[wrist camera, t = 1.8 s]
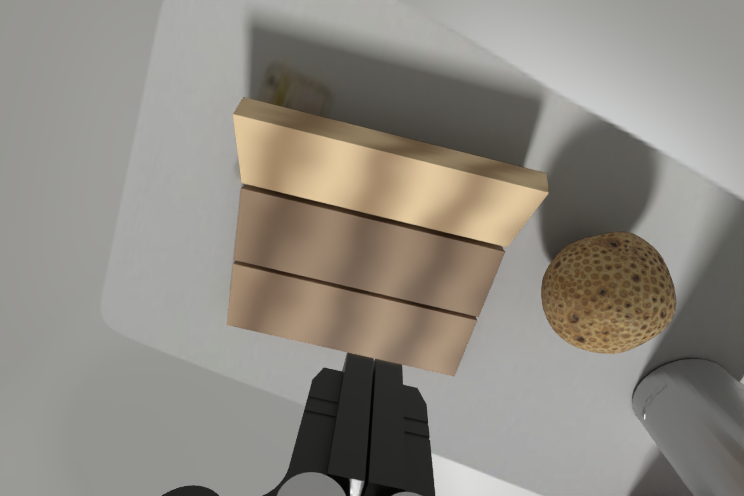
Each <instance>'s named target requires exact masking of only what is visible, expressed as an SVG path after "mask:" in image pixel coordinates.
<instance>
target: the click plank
mask: <svg viewBox="0 0 744 496" xmlns="http://www.w3.org/2000/svg"><path fill="white" fill-rule="evenodd" d="M233 118H234V126H235V134H236V142H237V150H238V158H239V165H240V173H241V181H242V183H244V184H248V185H252V186H256V187H260V188H265V189H269V190H273V191H277V192H281V193H285V194H289V195H294V196H298V197H302V198H306V199H310V200H314V201H318V202H322V203H327V204H331V205H335V206H339V207H343V208H347V209H351V210H355V211H360V212H364V213H368V214H372V215H376V216H380V217H384V218H389V219H393V220H397V221H401V222H405V223H409V224H413V225H417V226H422V227H426V228H430V229H434V230H438V231H442V232H446V233H451V234H455V235H459V236H463V237H467V238H471V239H475V240H479V241H484V242H488V243H492V244H496V245H500V246H504V247H508V245H509V244H510V243H511V241H512V240H513V239H514V237H515V236H516V235H517V234H518V232H519V231H520V230H521V228H522V227H523V226H524V225H525V223H526V222H527V221H528V219H529V218H530V217H531V215H532V214H533V213H534V212H535V210H536V209H537V208H538V206H539V205H540V204H541V202H542V201H543V200H544V199H545V197H546V196H547V195H548V193H549V190H548V183H547V176H546V173H544V172H540V171H536V170H532V169H528V168H524V167H520V166H516V165H512V164H508V163H504V162H500V161H496V160H492V159H488V158H484V157H480V156H476V155H472V154H468V153H464V152H460V151H456V150H452V149H448V148H444V147H440V146H436V145H432V144H428V143H424V142H420V141H416V140H412V139H408V138H404V137H400V136H396V135H392V134H388V133H384V132H380V131H376V130H372V129H368V128H365V127H361V126H357V125H353V124H349V123H345V122H341V121H337V120H333V119H329V118H325V117H321V116H317V115H313V114H309V113H305V112H301V111H297V110H293V109H289V108H285V107H281V106H277V105H273V104H269V103H265V102H261V101H257V100H253V99H249V98H245V97H243V99H242V100H241V102H240V104H239V105H238V107H237V108H236V110H235V112H234V113H233Z"/></svg>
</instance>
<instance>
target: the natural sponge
mask: <svg viewBox="0 0 744 496" xmlns="http://www.w3.org/2000/svg"><path fill="white" fill-rule="evenodd" d="M541 297H542V305H543V310H544V312H545V315H546V318H547V320H548V322H549V323H550V325H551V327H552V328H553V330H554V331H555V332H556V333H557V334H558V335H559V336H560V337H561V338H562V339H563V340H565V341H566V342H568V343H569V344H571V345H573V346H575V347H577V348H580V349H583V350H587V351H590V352H596V353H608V354H615V353H621V352H625V351H627V350H630V349H633V348H635V347H637V346H639V345H641V344H643V343H645V342H647V341H649V340H650V339H652V338H653V337H655V336H656V335H658V334H660V333H661V332H662V331H663V330H664V329H665V328H666V327H667V325H668V324H669V323H670V321H671V320H672V318H673V316H674V312H675V310H676V294H675V289H674V284H673V281H672V279H671V276H670V273H669V270H668V268H667V266H666V264H665V262H664V260H663V258H662V257H661V255H660V254H659V253H658V251H657V250H656V249H655V248H654V247H653V246H651V245H650V244H649V243H648V242H646V241H645V240H644V239H642V238H640V237H639V236H637V235H635V234H632V233H629V232H610V233H605V234H600V235H595V236H591V237H587V238H583V239H580V240H577V241H575V242H572V243H571V244H569V245H567V246H566V247H565V248H563V249H562V250H561V251H560V252H559V253H558V254H557V256H556V257H555V258H554V259H553V260H552V262H551V263H550V265H549V266H548V268H547V270H546V272H545V274H544V277H543V280H542V288H541Z"/></svg>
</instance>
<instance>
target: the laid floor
mask: <svg viewBox="0 0 744 496" xmlns="http://www.w3.org/2000/svg"><path fill="white" fill-rule="evenodd" d="M504 253H505V251H504V250H503V248H502V246H500V245H496V244H492V243H488V242H484V241H479V240H475V239H471V238H467V237H463V236H459V235H455V234H451V233H446V232H442V231H438V230H434V229H430V228H426V227H422V226H417V225H413V224H409V223H405V222H401V221H397V220H393V219H389V218H384V217H380V216H376V215H372V214H368V213H364V212H360V211H355V210H351V209H347V208H343V207H339V206H335V205H331V204H327V203H322V202H318V201H314V200H310V199H306V198H302V197H298V196H294V195H289V194H285V193H281V192H277V191H273V190H269V189H265V188H260V187H256V186H252V185H248V184H246V185H245V186H244V187H242V188H241V195H240V204H239V214H238V223H237V233H236V242H235V252H234V260H236V261H235V262H234V264H233V271H232V280H231V290H230V299H229V309H228V318H227V325H229V326H234V327H238V328H243V329H247V330H252V331H256V332H260V333H265V334H269V335H274V336H278V337H283V338H287V339H291V340H296V341H300V342H305V343H309V344H314V345H318V346H322V347H327V348H331V349H336V350H340V351H344V352H349V353H353V354H358V355H362V356H367V357H371V358H375V359H380V360H384V361H389V362H393V363H398V364H402V365H406V366H411V367H415V368H420V369H424V370H429V371H433V372H437V373H442V374H446V375H451V376H455V374H456V371H457V369H458V366H459V364H460V361H461V359H462V356H463V354H464V352H465V349H466V347H467V344H468V342H469V339H470V337H471V334H472V332H473V329H474V327H475V325H476V322H477V319H476V316H477V317H479V315H480V312H481V310H482V307H483V305H484V302H485V300H486V298H487V295H488V293H489V290H490V288H491V285H492V283H493V280H494V278H495V275H496V273H497V271H498V268H499V266H500V263H501V261H502V258H503V256H504Z"/></svg>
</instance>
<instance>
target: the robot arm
mask: <svg viewBox="0 0 744 496" xmlns="http://www.w3.org/2000/svg"><path fill="white" fill-rule="evenodd" d="M632 403H633V410H634V412H635V415H636V416H637V417H638V419H639V420H640V422H641V423H642V424H643V426H644V427H645V429H646V430H647V431H648V433H649V434H650V436H651V437H652V439H653V440H654V441H655V443H656V444H657V446H658V447H659V449H660V450H661V452H662V453H663V454H664V456H665V457H666V459H667V460H668V461H669V463H670V464H671V466H672V467H673V468H674V470H675V471H676V473H677V474H678V475H679V477H680V478H681V480H682V481H683V483H684V484H685V485H686V487H687V488H688V490H689V491H690V492H691V494H692V495H693V496H744V385H743V384H742V383H741V382H738V381H737V380H736V379H735V378H734V377H733V376H732V375H730V374H729V373H728V372H727V371H726V370H725V369H724V368H722V367H721V366H720V365H718V364H716V363H714V362H711V361H707V360H703V359H685V360H679V361H675V362H671V363H669V364H666V365H664V366H661V367H659V368H658V369H656V370H654V371H653V372H651V373H650V374H649V375H648V376H647V377H645V378H644V379H643V380H642V382H641V383H640V384H639V385H638V387H637V389H636V391H635V393H634V396H633V400H632ZM429 437H430V436H429V426H428V416H427V406H426V403H425V401H424V399H423V397H422V396H421V394H420V392H419V390H418V388H415V387H410V386H406V385H403V376H402V365H401V364H398V363H393V362H389V361H384V360H380V359H375V360H374V359H373V358H370V357H366V356H361V355H357V354H352V353H348V352H347V355H346V359H345V363H344V366H343V370H342V371H337V370H333V369H328V368H323V369H322V370H321V371H320V372H319V373H318V374H317V376H316V377H315V378H314V379H313V380H312V384H311V387H310V391H309V395H308V399H307V402H306V406H305V410H304V413H303V417H302V421H301V425H300V428H299V432H298V436H297V439H296V443H295V447H294V451H293V454H292V458H291V462H290V466H289V468H288V471H287V473H286V475H285V477H284V479H283V480H282V481H281V483H280V484H279V485H278V486H277V487H276V488H275V489H273V490H272V491H270V492H269V493H267V494H265V495H263V496H435V488H434V478H433V467H432V457H431V446H430V440H429ZM162 496H219V495H218V494H217V493H215V492H214V491H213V490H211V489H209V488H206V487H202V486H194V485H193V486H184V487H179V488H176V489H174V490H171V491H170V492H167V493H166V494H164V495H162Z"/></svg>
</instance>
